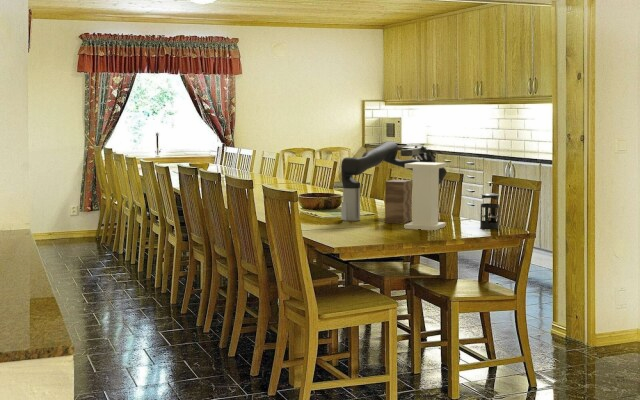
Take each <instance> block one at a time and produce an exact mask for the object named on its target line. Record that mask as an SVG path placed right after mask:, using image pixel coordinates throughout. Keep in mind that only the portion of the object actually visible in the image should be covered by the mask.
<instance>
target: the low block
mask: <svg viewBox="0 0 640 400" xmlns="http://www.w3.org/2000/svg"><path fill="white" fill-rule="evenodd" d="M412 183H413V179H411V180H410V179H391V180H386V181H385V186H384V187H385V188H384V189H385V190H384V199H385V201H384V203H385V204H384V208H385V209H384V215H385V216H384V217H385V218H384V223H387V224H400V223H401V224H402V223H404V224H407V223H410V222H412ZM409 221H410V222H409ZM406 222H407V223H406ZM401 224H400V225H401ZM402 225H403V224H402Z"/></svg>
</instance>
